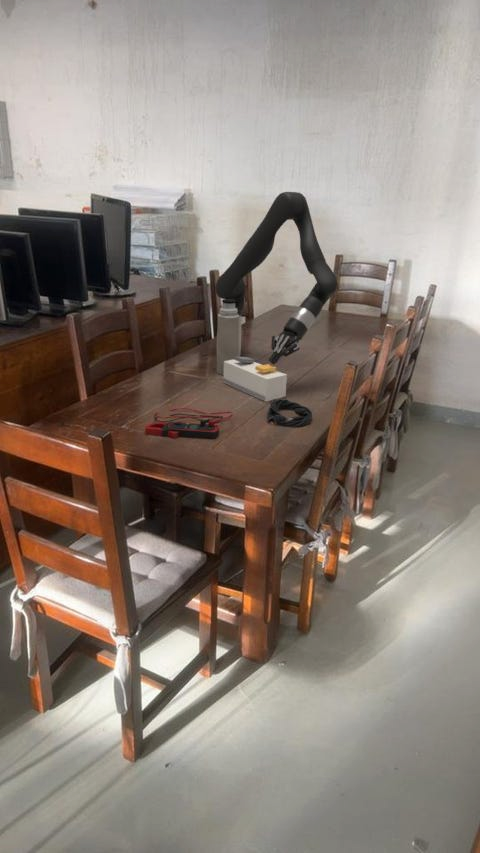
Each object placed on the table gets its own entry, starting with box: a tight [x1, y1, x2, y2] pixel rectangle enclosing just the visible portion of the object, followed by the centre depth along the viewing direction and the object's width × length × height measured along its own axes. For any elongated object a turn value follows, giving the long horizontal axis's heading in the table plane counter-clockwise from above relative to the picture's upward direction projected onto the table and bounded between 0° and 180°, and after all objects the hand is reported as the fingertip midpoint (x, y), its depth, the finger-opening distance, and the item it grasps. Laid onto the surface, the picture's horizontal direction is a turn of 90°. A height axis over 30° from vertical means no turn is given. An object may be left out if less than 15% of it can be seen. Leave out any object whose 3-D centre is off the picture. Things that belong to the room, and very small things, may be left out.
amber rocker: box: [255, 363, 277, 373], centre depth 203 cm, size 4×6×2 cm, turn 128°
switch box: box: [222, 359, 288, 402], centre depth 209 cm, size 24×9×8 cm, turn 38°
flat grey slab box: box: [234, 356, 255, 364], centre depth 211 cm, size 4×6×2 cm, turn 128°
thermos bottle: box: [216, 299, 239, 376], centre depth 222 cm, size 8×8×28 cm
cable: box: [266, 398, 313, 428], centre depth 188 cm, size 17×14×4 cm
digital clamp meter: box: [144, 407, 234, 440], centre depth 180 cm, size 23×4×25 cm
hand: (271, 362), depth 203 cm, fingers closed
